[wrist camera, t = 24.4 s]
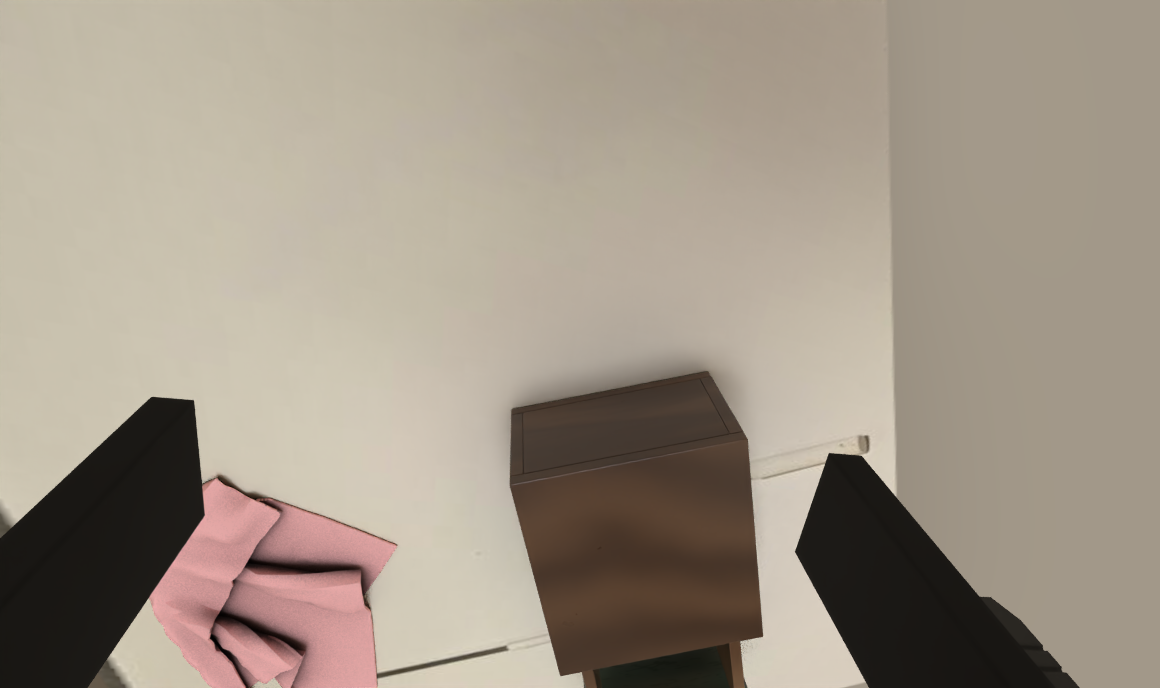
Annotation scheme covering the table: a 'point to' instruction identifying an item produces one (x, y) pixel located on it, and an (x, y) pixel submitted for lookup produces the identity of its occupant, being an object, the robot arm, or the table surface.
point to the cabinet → (637, 521)
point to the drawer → (676, 671)
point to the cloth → (272, 595)
